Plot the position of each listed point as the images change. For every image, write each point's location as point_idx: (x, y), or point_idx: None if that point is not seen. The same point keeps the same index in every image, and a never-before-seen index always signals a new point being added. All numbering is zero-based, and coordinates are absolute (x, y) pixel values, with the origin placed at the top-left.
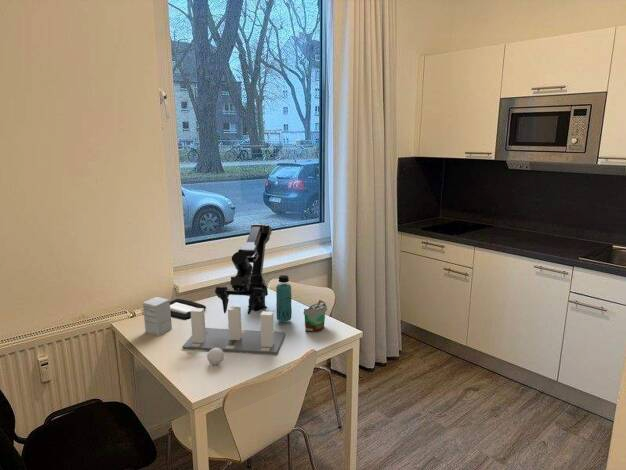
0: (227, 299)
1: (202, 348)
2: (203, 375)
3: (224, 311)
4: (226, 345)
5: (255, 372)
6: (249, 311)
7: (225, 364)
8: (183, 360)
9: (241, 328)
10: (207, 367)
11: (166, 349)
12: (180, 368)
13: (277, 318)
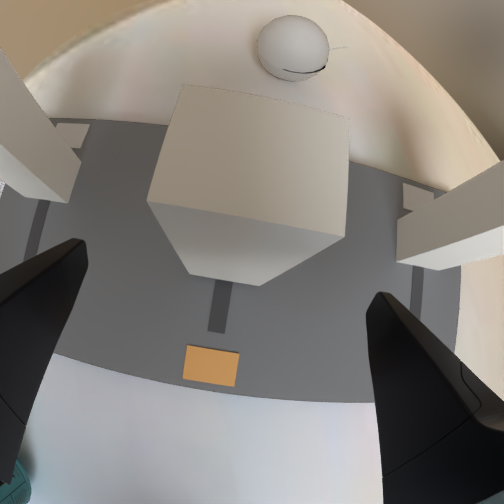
0: (414, 498)
1: (382, 173)
2: None
3: (387, 295)
4: None
5: (135, 26)
6: (54, 248)
7: (246, 61)
8: (411, 115)
9: (184, 265)
10: None
11: None
12: (395, 73)
13: (16, 467)
